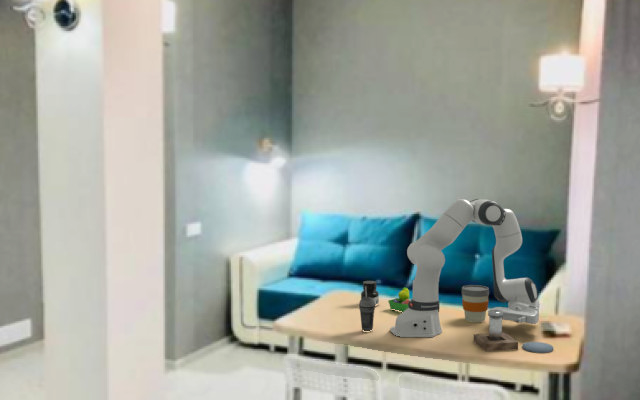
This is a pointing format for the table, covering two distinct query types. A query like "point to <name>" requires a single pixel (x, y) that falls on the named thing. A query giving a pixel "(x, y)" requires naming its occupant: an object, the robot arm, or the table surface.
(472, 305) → the reusable coffee cup
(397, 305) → the fruit basket
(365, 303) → the beverage cup
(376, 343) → the table surface
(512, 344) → the walnut socket block
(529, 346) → the slate rubber mat
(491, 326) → the steel plug
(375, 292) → the ink bottle
